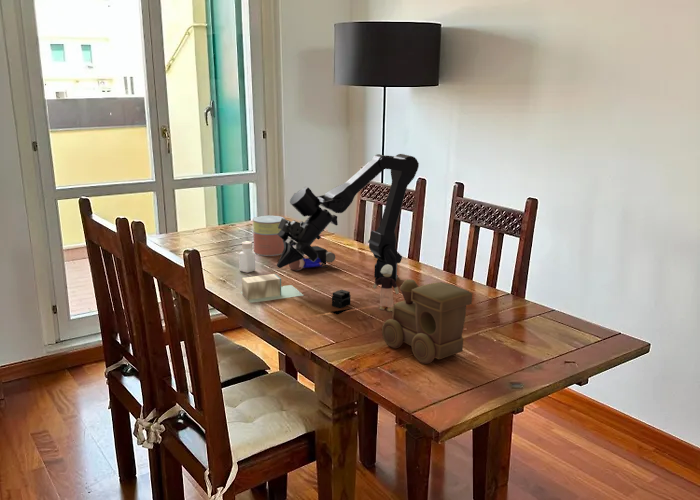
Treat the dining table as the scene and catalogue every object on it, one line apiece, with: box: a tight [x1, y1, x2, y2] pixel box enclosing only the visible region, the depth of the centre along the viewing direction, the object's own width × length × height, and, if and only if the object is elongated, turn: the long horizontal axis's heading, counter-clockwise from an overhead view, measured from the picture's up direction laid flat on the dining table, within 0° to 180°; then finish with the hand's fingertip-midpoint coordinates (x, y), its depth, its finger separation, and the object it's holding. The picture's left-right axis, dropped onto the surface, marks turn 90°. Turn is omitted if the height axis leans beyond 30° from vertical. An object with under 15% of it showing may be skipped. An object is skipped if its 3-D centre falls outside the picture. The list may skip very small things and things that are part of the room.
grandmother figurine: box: [372, 264, 400, 312], centre depth 179 cm, size 8×4×13 cm, turn 71°
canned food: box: [252, 214, 286, 257], centre depth 232 cm, size 11×11×12 cm
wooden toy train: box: [381, 279, 473, 365], centre depth 152 cm, size 20×11×17 cm, turn 38°
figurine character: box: [288, 245, 336, 271], centre depth 215 cm, size 7×8×15 cm
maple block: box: [241, 273, 282, 301], centre depth 187 cm, size 5×5×10 cm
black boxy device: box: [330, 289, 353, 316], centre depth 181 cm, size 13×8×5 cm, turn 142°
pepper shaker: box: [238, 240, 257, 274], centre depth 210 cm, size 4×4×10 cm
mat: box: [239, 284, 304, 304], centre depth 189 cm, size 16×10×1 cm, turn 116°
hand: (278, 267), depth 188 cm, fingers closed
